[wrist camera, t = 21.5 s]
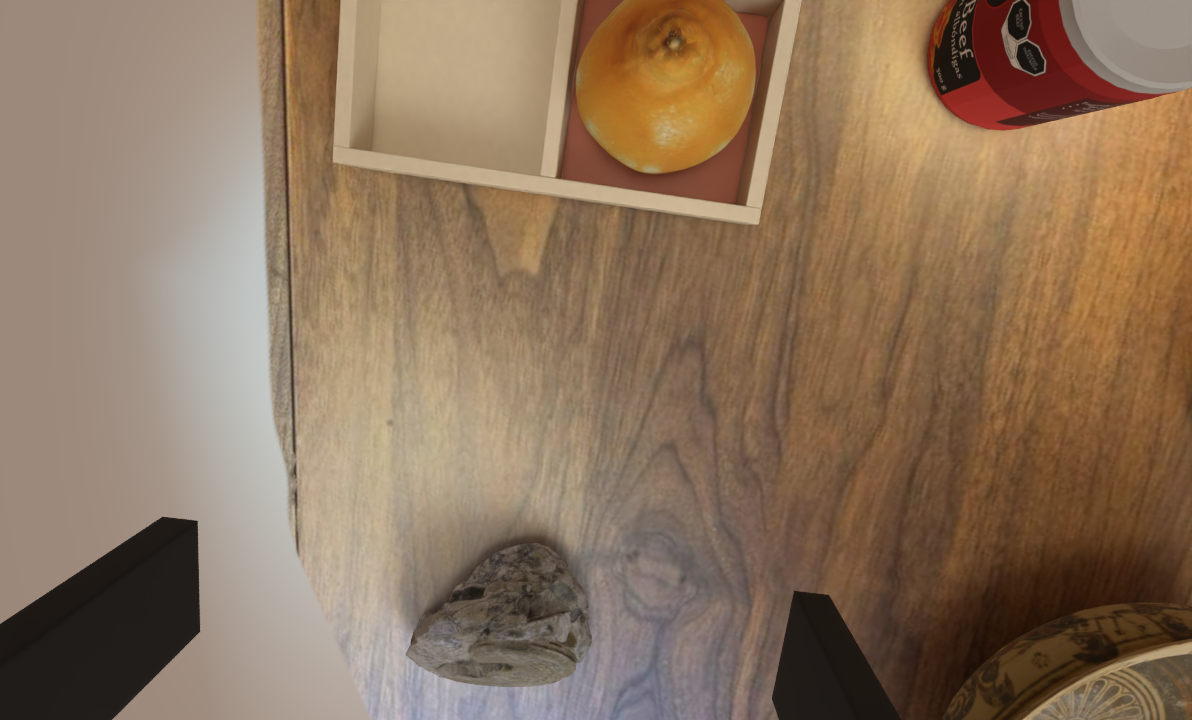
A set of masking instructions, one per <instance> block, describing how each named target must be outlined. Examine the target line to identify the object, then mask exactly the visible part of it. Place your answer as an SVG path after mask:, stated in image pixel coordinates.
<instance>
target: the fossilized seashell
mask: <svg viewBox="0 0 1192 720" xmlns="http://www.w3.org/2000/svg"><path fill="white" fill-rule="evenodd" d="M567 567H568V566H567V563H566V561H565V560H563V559H562V558H561V557H560V556H559V555H558V554H557V553H556V552H555V551H554V550H552V549H551V548H550V547H548V546H546V545H541V544H539V543H533V542H532V543H524V544H520V545H516V546H512V547H509V548H506V549H502V550H500V551H497V552H496V553H494V554H493V555H491V556H490V557H489V558H487V559H486V560H484V561H483V562H482V563H480V564H479V565H478V566H477V567H476V568H475V570H474V571H473V572H472V573H471V575H470V576H469V578H468V580H467V582H460V583H459V584H458V585H457V586H456V587H455V589H454V590H453V591H452V594H451V597H450V599H449V600H448V601H447V602H446V603H444V607H442V608H441V609H440V610H438V611H437V613H434V614H433V613H430V612H428V613H425V614H423V615H421V617H420V620H419V622H418V625H417V627H416V629H415V631H414V632H413V636H412V639H411V646H410V647H409V649H408V651H407V653H406V655H407V656H408V657H409V658H410V659H412V660H413V661H414V662H415V663H416V664H417V665H418V666H420V667H422V668H424V669H425V670H427V671H430V672H432V673H434V674H436V675H438V676H439V677H444V678H448V679H451V680H454V681H458V682H463V683H469V684H476V685H487V686H501V687H527V686H539V685H545V684H550V683H554V682H557V681H559V680H561V679H563V678H565V677H568V676H570V675H572V674H573V673H574V671H575V669H576V665H575V664H576V663H578V662H581V661H582V660H583V658H584V656H585V655H586V653H587V651H588V649H589V648H590V646H591V643H592V636H591V634H590V630H589V626H588V621H587V619H588V618H589V616H588V615H587V613H586V611H587V609H588V603H587V599H586V594H585V592H584V590H583V589H582V587H581V586H580V585H579V584H578V582H577V581H576V580H575V579H574V578H573V577H572V576H571V574H570V572H569V571H568V569H567Z"/></svg>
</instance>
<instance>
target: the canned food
mask: <svg viewBox="0 0 1192 720" xmlns="http://www.w3.org/2000/svg"><path fill="white" fill-rule="evenodd" d="M928 70H929V74H930V78H931V82H932V85H933V87H934V89H935V92H936V94H937V96H938V97H939V99H940V100H941V101H942V103H943V104H944V105H945V107H946V108H947V109H948V110H950V111H951V112H952V113H953V114H954V115H955V116H957V117H958V118H960V119H962V120H964V121H966V122H967V123H970V124H973V125H976V126H980V127H983V128H986V129H992V130H1011V129H1019V128H1024V127H1028V126H1032V125H1037V124H1041V123H1046V122H1050V121H1054V120H1059V119H1063V118H1068V117H1072V116H1076V115H1081V114H1085V113H1090V112H1094V111H1099V110H1103V109H1107V108H1112V107H1116V106H1121V105H1125V104H1129V103H1134V102H1138V101H1143V100H1147V99H1151V98H1155V97H1158V96H1162V95H1166V94H1170V93H1175V92H1179V91H1182V90H1185V89H1188V88H1191V87H1192V0H949V1H948V2H947V3H946V5H945V7H944V8H943V10H942V12H941V14H940V16H939V18H938V20H937V21H936V23H935V25H934V28H933V31H932V34H931V37H930V41H929V49H928Z"/></svg>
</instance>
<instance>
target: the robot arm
mask: <svg viewBox="0 0 1192 720" xmlns="http://www.w3.org/2000/svg"><path fill="white" fill-rule="evenodd" d="M198 565H199V564H198V521H194V520H185V519H177V518H168V517H162V518H160V519H159V520H157V521H156V522H154V523H152V524H151V525H149V526H148V527H146V528H145V529H143V530H142V531H140V532H139V533H137V534H136V535H134V536H133V537H131V538H130V539H128V540H127V541H125V542H124V543H122V544H121V545H119V546H118V547H116V548H115V549H113V550H112V551H110V552H109V553H107V554H106V555H104V556H103V557H101V558H100V559H98V560H96V561H95V562H93V563H92V564H90V565H89V566H87V567H86V568H84V569H83V570H81V571H80V572H79V573H77V574H75V575H74V576H72V577H71V578H69V579H68V580H66V581H65V582H63V583H62V584H60V585H59V586H57V587H56V588H54V589H53V590H51V591H49V592H48V593H46V594H45V595H43V596H42V597H40V598H39V599H38V600H36V601H34V602H33V603H31V604H30V605H28V606H27V607H25V608H24V609H22V610H21V611H19V612H18V613H16V614H15V615H13V616H12V617H10V618H9V619H7V620H6V621H4V622H3V623H1V624H0V720H112V719H113V718H114V717H115V716H116V715H117V714H118V713H119V712H120V711H121V710H122V709H123V708H124V707H125V706H126V705H127V704H128V703H129V702H130V701H131V700H132V699H133V698H134V697H135V696H136V695H137V694H138V693H139V692H140V691H141V690H142V689H143V688H144V687H145V686H146V685H147V684H148V683H149V682H150V681H151V680H152V679H153V678H154V677H155V676H156V675H157V674H158V673H159V672H160V671H161V670H162V669H163V668H164V667H165V666H166V665H167V664H168V663H169V662H170V661H171V660H172V659H173V658H174V657H175V656H176V655H177V654H178V653H179V652H180V651H181V650H182V649H183V648H184V647H185V646H186V645H187V644H188V643H189V642H190V641H191V640H192V639H193V638H194V637H195V636H196V635H197V634H198V633H199V632H200V609H199V569H198V568H199V566H198ZM772 700H773V703H774V706H775V709H776V712H777V715H778V718H779V720H901V718H900V717H899V715H898V713H897V711H896V710H895V708H894V706H893V705H892V703H891V701H890V699H889V698H888V696H887V694H886V692H885V691H884V689H883V687H882V686H881V684H880V682H879V680H878V679H877V677H876V675H875V674H874V672H873V670H872V668H871V667H870V665H869V663H868V662H867V660H866V658H865V656H864V655H863V653H862V651H861V650H860V648H859V646H858V644H857V643H856V641H855V639H854V637H853V636H852V634H851V632H850V631H849V629H848V627H847V625H846V624H845V622H844V620H843V619H842V617H841V615H840V613H839V612H838V610H837V608H836V607H835V605H834V603H833V601H832V600H831V598H830V596H829V595H824V594H816V593H807V592H799V591H794V594H793V599H792V604H791V608H790V613H789V618H788V623H787V628H786V633H785V638H784V643H783V647H782V652H781V657H780V662H779V667H778V672H777V677H776V682H775V686H774V691H773V696H772Z"/></svg>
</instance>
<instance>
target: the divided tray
mask: <svg viewBox="0 0 1192 720" xmlns="http://www.w3.org/2000/svg"><path fill="white" fill-rule="evenodd" d="M623 1H625V0H341V5H340V24H339V44H338V64H337V83H336V103H335V123H334V142H333V145H334V146H333V162H334V163H338V164H343V165H348V166H352V167H357V168H362V169H369V170H376V171H383V172H389V173H396V174H403V175H410V176H417V177H424V178H430V179H437V180H444V181H451V182H458V183H464V184H471V185H478V186H485V187H492V188H499V189H505V190H512V191H519V192H526V193H533V194H539V195H546V196H553V197H560V198H567V199H574V200H580V201H587V202H594V203H601V204H608V205H614V206H621V207H628V208H635V209H642V210H649V211H655V212H662V213H669V214H676V215H683V216H689V217H696V218H703V219H710V220H717V221H724V222H730V223H737V224H748V225H758V224H759V219H760V214H761V208H762V204H763V199H764V193H765V188H766V183H767V178H768V173H769V168H770V163H771V157H772V152H773V147H774V142H775V137H776V132H777V126H778V121H779V116H780V111H781V106H782V101H783V96H784V90H785V85H786V80H787V75H788V70H789V65H790V59H791V54H792V49H793V44H794V39H795V34H796V29H797V23H798V18H799V13H800V8H801V3H802V0H724V1H725V2H726V3H727V4H728V5H729V6H730V7H731V8H732V9H733V10H734V12H735V13H736V14H737V15H738V17H739V18H740V20H741V22H742V23H743V25H744V27H745V29H746V31H747V33H748V35H749V37H750V39H751V42H752V45H753V49H754V55H755V67H756V76H755V87H754V93H753V97H752V101H751V104H750V107H749V110H748V112H747V115H746V117H745V119H744V121H743V123H742V125H741V127H740V129H739V131H738V132H737V134H736V135H735V136H734V138H733V139H732V140H731V141H730V142H729V143H728V144H727V145H726V147H725V148H724V149H722V150H721V151H720V152H718V153H717V154H715V155H714V156H712V157H711V158H709V159H707V160H706V161H704V162H702V163H700V164H697V165H695V166H692V167H689V168H686V169H683V170H678V171H673V172H668V173H659V174H650V173H643V172H639V171H636V170H634V169H632V168H629V167H628V166H626V165H624V164H622V163H621V162H619V161H618V160H617V159H615V158H614V157H612V156H611V155H610V154H609V153H608V152H607V151H606V150H605V149H603V148H602V147H601V146H600V145H599V144H598V142H597V141H596V140H595V139H594V138H593V137H592V136H591V135H590V133H589V132H588V131H587V130H586V128H585V126H584V124H583V122H582V119H581V116H580V113H579V110H578V106H577V98H576V73H577V68H578V65H579V62H580V59H581V57H582V54H583V52H584V50H585V48H586V46H587V44H588V42H589V41H590V39H591V37H592V36H593V34H594V33H595V31H596V29H597V28H598V27H599V26H600V25H601V23H602V22H603V21H605V20H606V18H607V17H608V16H609V15H610V14H611V13H612V12H613V10H614V9H615V8H616V7H617V6H618V5H620V4H621V3H622V2H623Z"/></svg>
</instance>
